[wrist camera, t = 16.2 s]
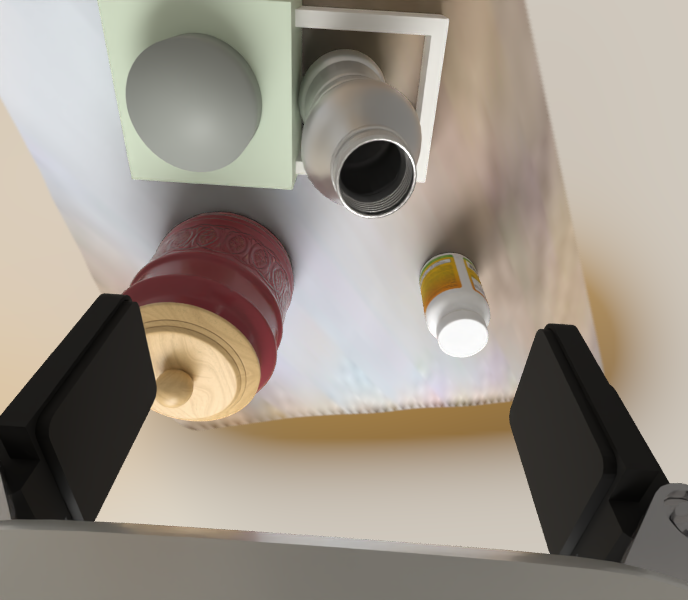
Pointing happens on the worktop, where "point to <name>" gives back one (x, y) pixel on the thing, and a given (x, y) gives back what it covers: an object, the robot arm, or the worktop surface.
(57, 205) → the worktop surface
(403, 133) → the silver bottle
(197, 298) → the canister
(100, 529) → the robot arm
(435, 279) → the supplement bottle
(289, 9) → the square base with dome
